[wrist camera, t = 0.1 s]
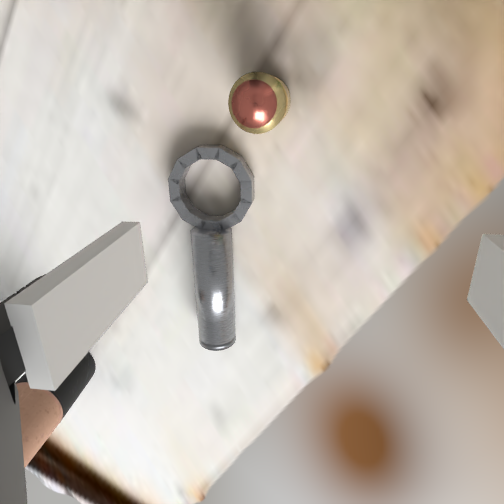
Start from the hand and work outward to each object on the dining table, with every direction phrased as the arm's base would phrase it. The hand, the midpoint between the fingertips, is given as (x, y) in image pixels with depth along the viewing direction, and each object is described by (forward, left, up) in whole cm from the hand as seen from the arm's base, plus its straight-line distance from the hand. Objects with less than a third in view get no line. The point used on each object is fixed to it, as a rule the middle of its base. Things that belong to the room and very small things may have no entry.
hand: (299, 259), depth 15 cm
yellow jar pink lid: (-5, -4, -28) cm, 29 cm away
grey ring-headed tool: (+11, -10, -28) cm, 32 cm away
